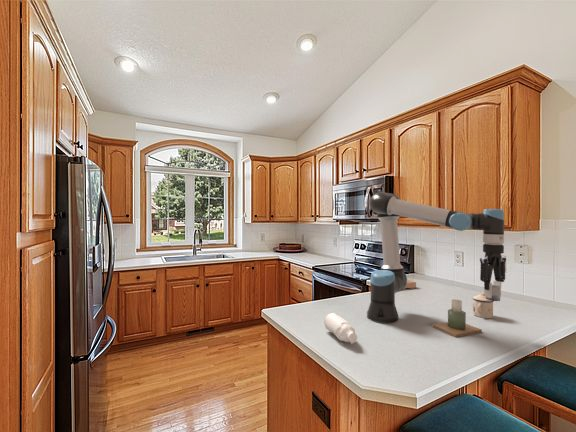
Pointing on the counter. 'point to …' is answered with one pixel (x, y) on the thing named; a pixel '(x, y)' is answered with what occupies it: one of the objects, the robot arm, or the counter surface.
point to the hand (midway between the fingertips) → (492, 296)
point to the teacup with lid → (482, 306)
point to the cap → (495, 293)
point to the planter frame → (410, 284)
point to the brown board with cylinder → (457, 322)
